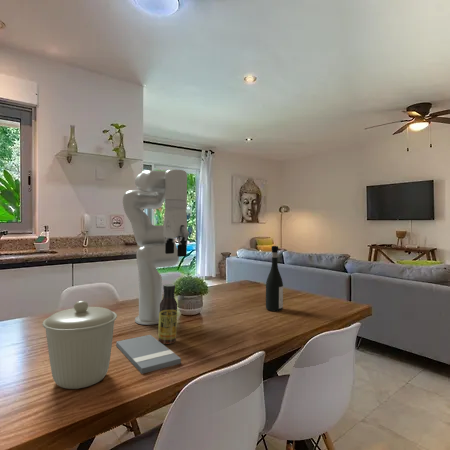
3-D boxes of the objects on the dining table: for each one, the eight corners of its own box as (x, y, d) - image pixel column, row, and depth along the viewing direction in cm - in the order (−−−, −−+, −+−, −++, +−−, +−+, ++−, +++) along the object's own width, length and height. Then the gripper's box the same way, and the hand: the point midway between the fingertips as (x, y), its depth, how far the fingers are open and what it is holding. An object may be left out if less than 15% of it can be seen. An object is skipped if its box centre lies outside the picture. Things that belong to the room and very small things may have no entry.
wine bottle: (282, 307, 161) (282, 245, 161) (283, 312, 153) (284, 247, 153) (265, 307, 162) (266, 245, 161) (265, 311, 154) (266, 246, 153)
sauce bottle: (158, 346, 112) (158, 287, 112) (157, 339, 118) (157, 283, 118) (178, 344, 114) (178, 286, 114) (176, 337, 120) (176, 282, 120)
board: (116, 345, 112) (116, 341, 112) (150, 338, 119) (150, 334, 119) (141, 373, 92) (141, 368, 92) (180, 363, 99) (180, 358, 99)
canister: (81, 404, 77) (81, 313, 77) (26, 389, 84) (25, 305, 83) (130, 371, 94) (130, 296, 94) (81, 360, 101) (81, 291, 100)
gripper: (156, 205, 121) (155, 253, 122) (177, 205, 107) (176, 258, 107) (174, 206, 125) (174, 251, 126) (197, 205, 111) (197, 256, 111)
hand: (175, 254), depth 116 cm, fingers open, 9 cm apart
